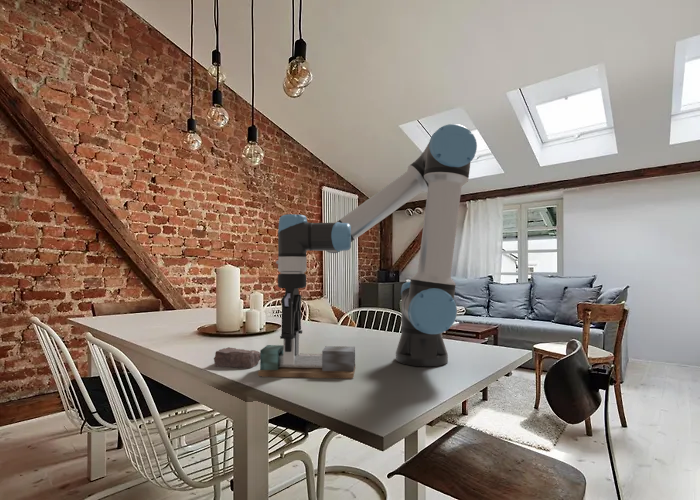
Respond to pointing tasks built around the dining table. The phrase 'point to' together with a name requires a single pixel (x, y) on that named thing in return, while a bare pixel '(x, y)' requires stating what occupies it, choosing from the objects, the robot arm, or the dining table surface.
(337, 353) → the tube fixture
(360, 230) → the robot arm
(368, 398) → the dining table surface
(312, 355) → the grey bar with post
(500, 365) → the dining table surface
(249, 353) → the stone
